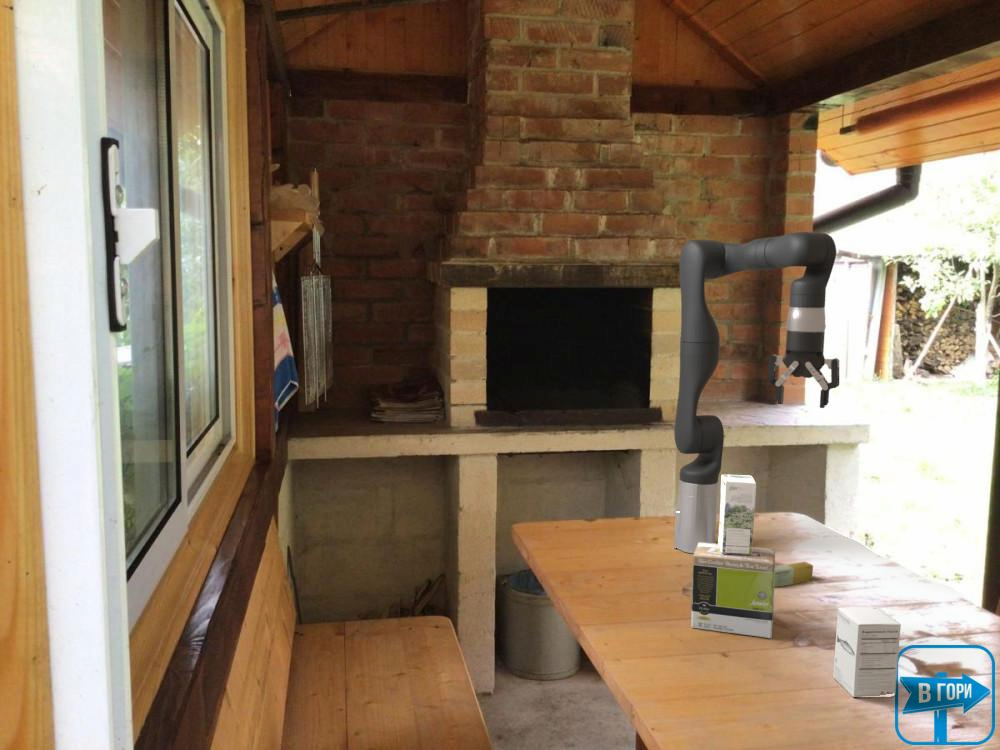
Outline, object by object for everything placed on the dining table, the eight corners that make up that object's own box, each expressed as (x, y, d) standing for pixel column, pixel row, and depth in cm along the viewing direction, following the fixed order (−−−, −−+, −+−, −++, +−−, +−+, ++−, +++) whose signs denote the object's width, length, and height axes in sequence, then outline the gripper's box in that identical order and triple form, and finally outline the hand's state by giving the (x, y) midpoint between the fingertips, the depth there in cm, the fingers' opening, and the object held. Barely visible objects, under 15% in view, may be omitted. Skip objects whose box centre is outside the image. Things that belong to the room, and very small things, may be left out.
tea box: (772, 620, 173) (776, 547, 171) (771, 640, 164) (775, 563, 162) (695, 610, 178) (698, 539, 176) (689, 629, 168) (692, 554, 167)
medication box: (771, 589, 191) (772, 571, 190) (762, 584, 193) (763, 567, 192) (812, 581, 196) (814, 564, 195) (803, 577, 198) (804, 560, 198)
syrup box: (747, 546, 172) (751, 474, 170) (752, 556, 166) (756, 481, 164) (717, 545, 172) (721, 472, 170) (721, 554, 166) (725, 479, 165)
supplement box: (831, 678, 148) (836, 606, 147) (873, 677, 149) (878, 605, 148) (852, 699, 141) (857, 623, 140) (896, 698, 142) (902, 623, 140)
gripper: (766, 328, 184) (762, 404, 186) (838, 331, 177) (833, 411, 179) (774, 326, 190) (770, 400, 192) (844, 329, 183) (839, 406, 185)
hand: (801, 405), depth 186 cm, fingers open, 8 cm apart
